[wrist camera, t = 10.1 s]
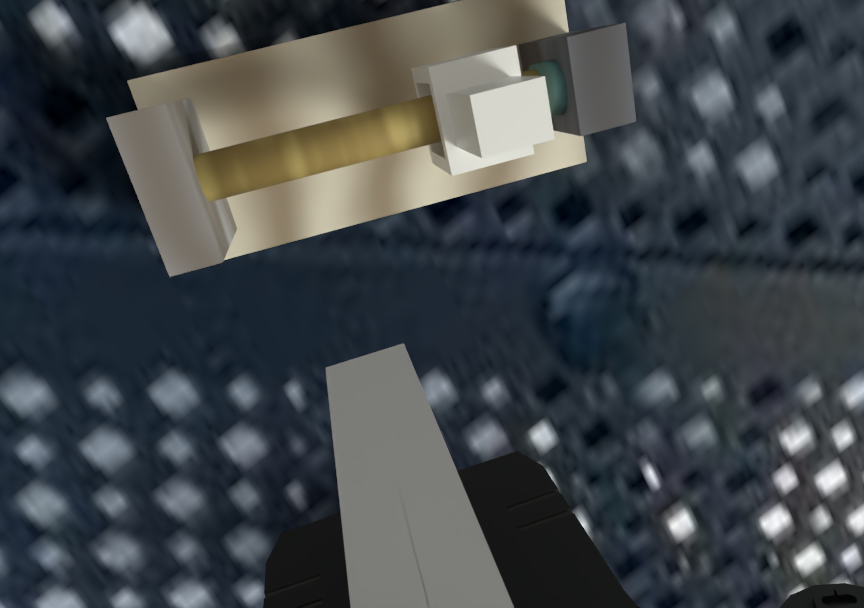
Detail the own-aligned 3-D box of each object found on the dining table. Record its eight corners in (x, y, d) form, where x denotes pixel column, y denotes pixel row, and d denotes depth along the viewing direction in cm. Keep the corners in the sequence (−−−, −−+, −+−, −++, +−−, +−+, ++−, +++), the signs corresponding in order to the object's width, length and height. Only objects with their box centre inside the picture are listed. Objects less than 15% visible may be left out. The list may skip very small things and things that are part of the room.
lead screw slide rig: (200, 263, 37) (175, 309, 29) (130, 80, 33) (82, 81, 26) (581, 160, 39) (645, 178, 32) (555, -22, 35) (621, -48, 28)
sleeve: (432, 163, 34) (476, 191, 26) (410, 68, 32) (450, 65, 24) (504, 144, 35) (570, 166, 26) (487, 49, 33) (552, 39, 24)
